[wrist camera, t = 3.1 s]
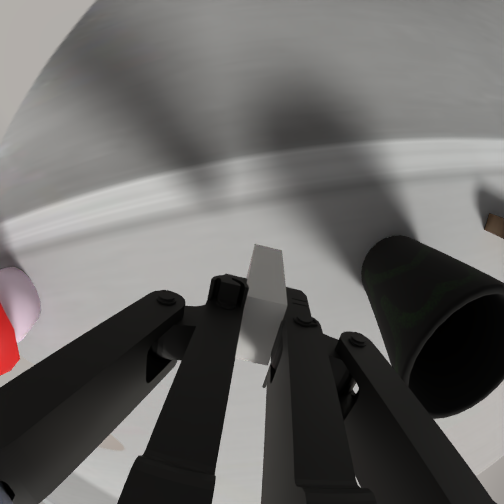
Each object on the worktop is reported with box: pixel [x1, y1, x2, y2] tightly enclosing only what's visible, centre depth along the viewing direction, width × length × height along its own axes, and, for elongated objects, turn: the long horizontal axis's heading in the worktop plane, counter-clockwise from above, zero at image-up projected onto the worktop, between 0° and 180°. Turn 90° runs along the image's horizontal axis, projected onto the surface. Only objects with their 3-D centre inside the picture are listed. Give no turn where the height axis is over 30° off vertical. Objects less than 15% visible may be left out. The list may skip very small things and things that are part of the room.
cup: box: [361, 235, 504, 419], centre depth 16 cm, size 8×8×12 cm
